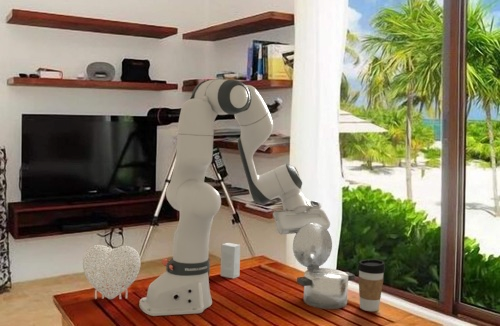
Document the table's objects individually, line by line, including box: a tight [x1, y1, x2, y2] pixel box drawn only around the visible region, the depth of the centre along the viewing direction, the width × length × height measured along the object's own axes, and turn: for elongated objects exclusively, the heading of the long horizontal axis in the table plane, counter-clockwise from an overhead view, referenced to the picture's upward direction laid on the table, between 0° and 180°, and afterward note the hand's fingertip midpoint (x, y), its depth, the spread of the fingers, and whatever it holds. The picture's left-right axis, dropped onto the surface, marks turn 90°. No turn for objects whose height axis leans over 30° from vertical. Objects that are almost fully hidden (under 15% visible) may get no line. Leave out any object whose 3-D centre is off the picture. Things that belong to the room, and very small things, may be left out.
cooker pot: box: [296, 267, 356, 310], centre depth 166 cm, size 20×14×9 cm
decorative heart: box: [82, 244, 142, 300], centre depth 161 cm, size 18×11×17 cm, turn 90°
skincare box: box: [220, 242, 241, 280], centre depth 189 cm, size 6×4×12 cm
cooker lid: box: [292, 223, 333, 270], centre depth 173 cm, size 15×16×2 cm
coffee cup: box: [357, 259, 386, 312], centre depth 161 cm, size 8×8×15 cm
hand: (310, 241), depth 175 cm, fingers closed
